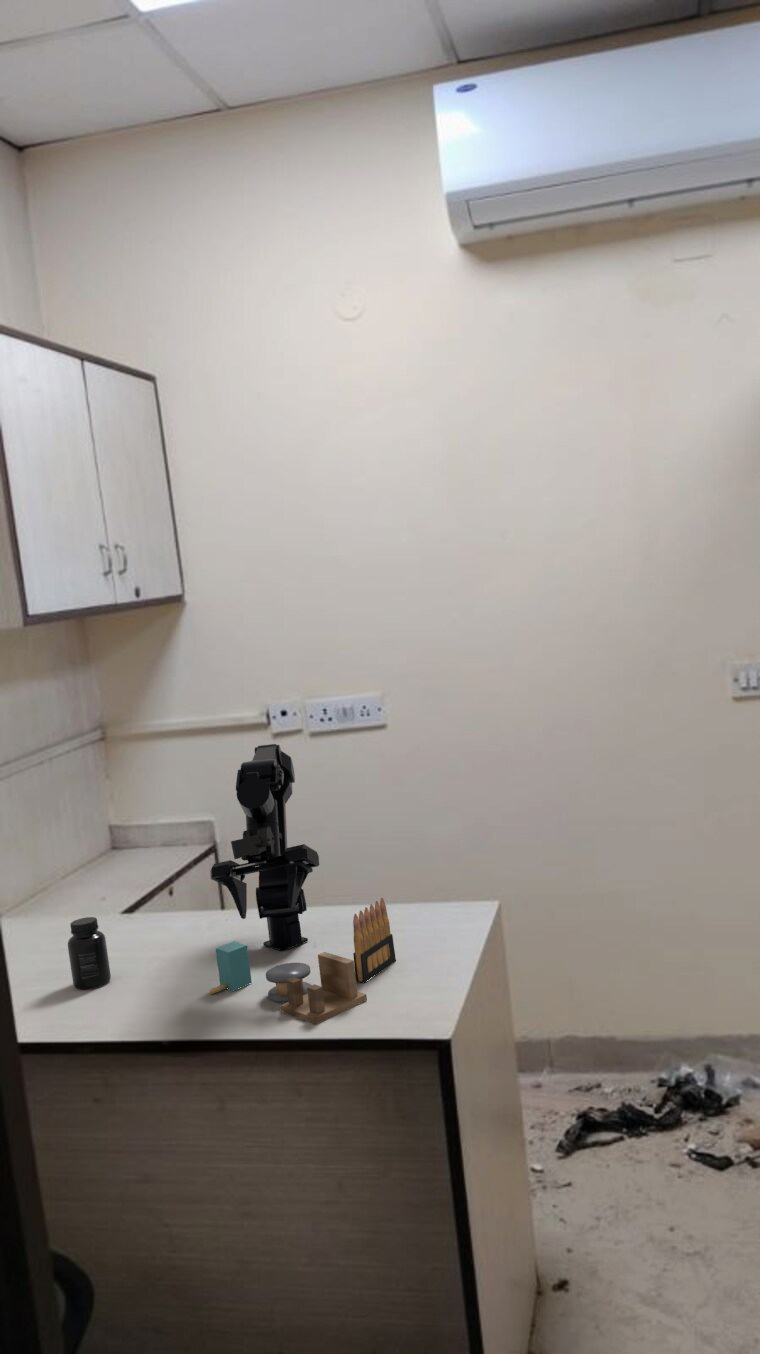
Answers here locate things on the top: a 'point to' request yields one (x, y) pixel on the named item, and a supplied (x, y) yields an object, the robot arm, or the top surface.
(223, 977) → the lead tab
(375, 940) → the ammunition clip
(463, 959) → the top surface
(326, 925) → the top surface
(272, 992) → the spool
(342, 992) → the notch board
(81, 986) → the supplement bottle
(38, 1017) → the top surface
